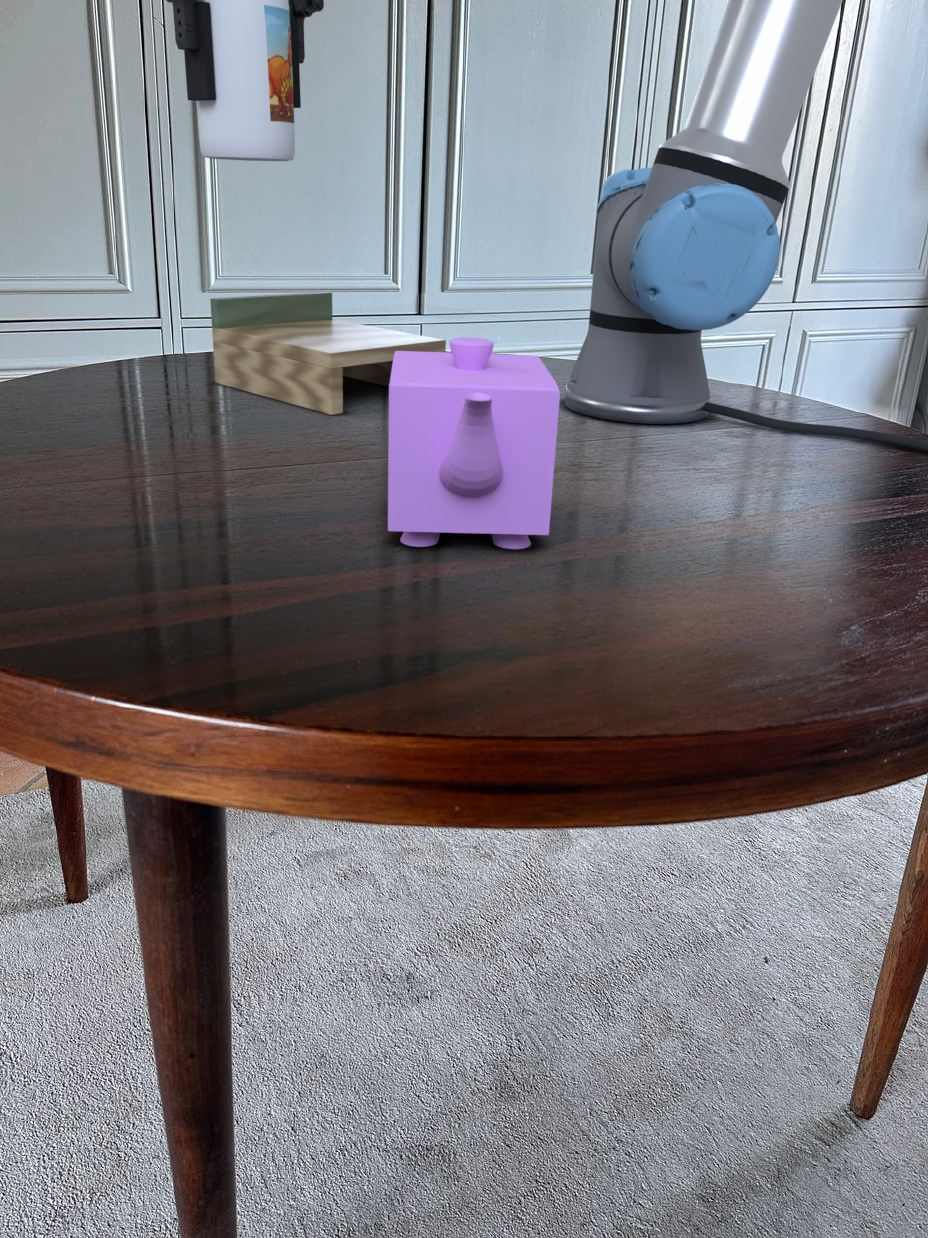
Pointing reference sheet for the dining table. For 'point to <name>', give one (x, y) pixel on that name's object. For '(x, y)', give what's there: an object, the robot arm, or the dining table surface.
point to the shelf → (301, 348)
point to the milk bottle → (249, 83)
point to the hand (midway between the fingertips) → (245, 103)
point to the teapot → (471, 444)
